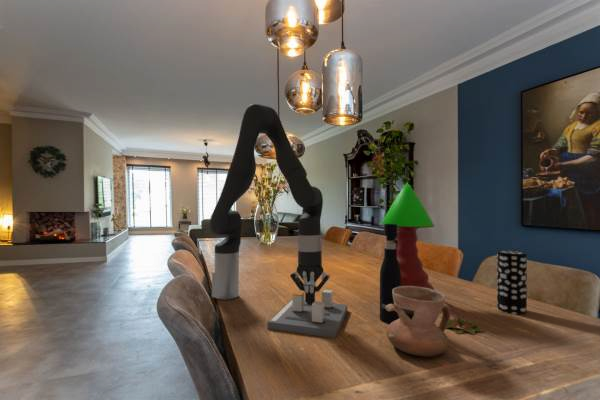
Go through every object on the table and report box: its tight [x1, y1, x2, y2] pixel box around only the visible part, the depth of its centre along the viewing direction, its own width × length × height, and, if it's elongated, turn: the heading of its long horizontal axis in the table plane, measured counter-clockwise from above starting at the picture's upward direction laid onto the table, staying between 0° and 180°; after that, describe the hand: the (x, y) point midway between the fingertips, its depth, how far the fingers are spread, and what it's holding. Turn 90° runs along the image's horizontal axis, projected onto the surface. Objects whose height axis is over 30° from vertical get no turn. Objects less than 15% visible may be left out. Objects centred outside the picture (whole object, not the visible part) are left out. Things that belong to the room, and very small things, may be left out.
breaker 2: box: [321, 289, 334, 308], centre depth 100 cm, size 3×3×5 cm
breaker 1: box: [312, 300, 325, 323], centre depth 87 cm, size 3×3×5 cm
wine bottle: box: [379, 224, 401, 325], centre depth 95 cm, size 6×6×30 cm
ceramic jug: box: [385, 286, 452, 358], centre depth 76 cm, size 18×14×14 cm
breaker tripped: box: [291, 291, 305, 312], centre depth 96 cm, size 3×3×5 cm
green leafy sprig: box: [438, 311, 485, 336], centre depth 90 cm, size 12×12×5 cm
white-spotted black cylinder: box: [496, 249, 528, 316], centre depth 104 cm, size 8×8×20 cm
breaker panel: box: [266, 298, 348, 339], centre depth 95 cm, size 20×22×2 cm
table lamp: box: [380, 182, 435, 290], centre depth 117 cm, size 20×20×45 cm
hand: (310, 304), depth 95 cm, fingers closed
